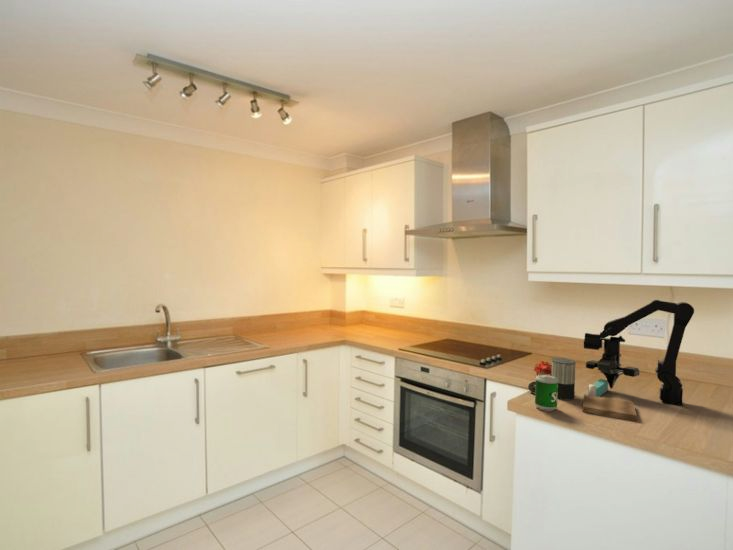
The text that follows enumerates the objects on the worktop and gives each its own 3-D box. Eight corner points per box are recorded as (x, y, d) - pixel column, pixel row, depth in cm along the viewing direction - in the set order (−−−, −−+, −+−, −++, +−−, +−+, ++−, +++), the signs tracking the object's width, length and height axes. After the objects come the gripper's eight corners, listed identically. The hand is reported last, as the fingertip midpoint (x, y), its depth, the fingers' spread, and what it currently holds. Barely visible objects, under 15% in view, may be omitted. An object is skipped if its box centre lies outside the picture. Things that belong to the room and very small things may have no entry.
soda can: (546, 413, 141) (547, 379, 141) (530, 406, 148) (531, 374, 148) (561, 410, 144) (562, 377, 144) (545, 403, 151) (545, 372, 151)
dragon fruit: (536, 377, 193) (554, 388, 182) (525, 368, 190) (543, 379, 179) (546, 363, 194) (565, 373, 183) (536, 354, 191) (554, 364, 180)
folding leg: (595, 399, 156) (595, 386, 156) (587, 397, 158) (587, 385, 158) (607, 389, 169) (608, 378, 169) (600, 388, 171) (600, 376, 171)
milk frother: (580, 400, 156) (581, 362, 156) (543, 401, 154) (545, 363, 154) (557, 388, 170) (558, 354, 170) (523, 390, 168) (524, 355, 168)
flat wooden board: (632, 407, 149) (632, 401, 149) (636, 421, 135) (636, 415, 135) (583, 399, 157) (583, 394, 157) (582, 412, 143) (583, 406, 143)
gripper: (579, 349, 169) (579, 386, 169) (628, 357, 154) (628, 397, 154) (592, 347, 176) (591, 382, 176) (640, 354, 161) (639, 392, 161)
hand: (611, 388), depth 167 cm, fingers closed
